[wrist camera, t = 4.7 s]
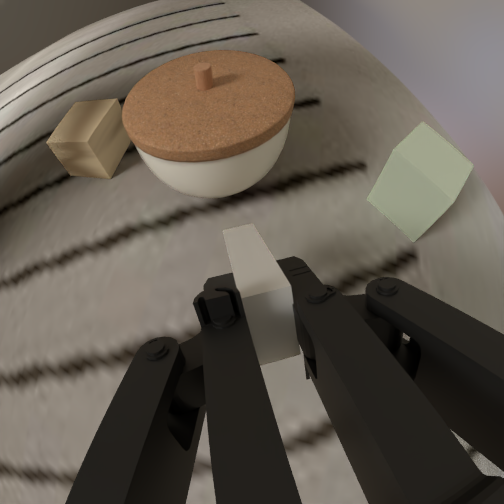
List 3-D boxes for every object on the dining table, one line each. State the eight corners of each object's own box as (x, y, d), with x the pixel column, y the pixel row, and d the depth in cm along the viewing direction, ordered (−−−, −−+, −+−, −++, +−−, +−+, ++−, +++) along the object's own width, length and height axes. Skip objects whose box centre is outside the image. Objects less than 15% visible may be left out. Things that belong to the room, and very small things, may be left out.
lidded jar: (212, 107, 26) (200, 22, 17) (310, 155, 23) (330, 59, 14) (128, 181, 22) (82, 96, 14) (228, 252, 20) (208, 161, 11)
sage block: (366, 199, 21) (393, 149, 16) (395, 168, 23) (422, 121, 17) (413, 242, 20) (454, 202, 14) (438, 206, 21) (474, 165, 16)
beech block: (71, 176, 23) (46, 142, 18) (94, 136, 25) (75, 102, 20) (111, 179, 23) (87, 141, 18) (134, 137, 24) (117, 98, 20)
